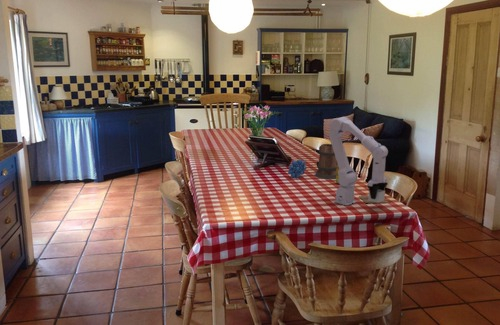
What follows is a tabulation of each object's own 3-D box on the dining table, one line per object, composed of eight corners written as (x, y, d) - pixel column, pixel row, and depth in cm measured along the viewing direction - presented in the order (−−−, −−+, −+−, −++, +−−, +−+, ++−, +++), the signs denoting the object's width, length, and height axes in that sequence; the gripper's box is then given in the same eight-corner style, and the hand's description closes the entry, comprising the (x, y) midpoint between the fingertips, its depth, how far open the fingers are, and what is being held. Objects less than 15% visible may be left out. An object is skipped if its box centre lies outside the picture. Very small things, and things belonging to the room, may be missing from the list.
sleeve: (378, 202, 221) (379, 192, 220) (368, 200, 225) (369, 190, 224) (384, 200, 225) (385, 190, 224) (374, 197, 229) (375, 188, 228)
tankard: (346, 178, 283) (347, 146, 278) (321, 180, 278) (322, 148, 274) (329, 169, 305) (330, 140, 300) (306, 171, 300) (307, 141, 296)
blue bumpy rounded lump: (304, 175, 288) (305, 157, 285) (307, 178, 281) (307, 159, 279) (286, 176, 286) (286, 157, 284) (288, 179, 280) (289, 160, 277)
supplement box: (335, 183, 272) (336, 165, 269) (344, 182, 274) (345, 164, 272) (340, 185, 266) (341, 167, 264) (349, 184, 269) (350, 166, 266)
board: (388, 203, 234) (389, 196, 233) (365, 204, 233) (366, 196, 232) (380, 196, 245) (381, 189, 244) (358, 197, 244) (359, 189, 244)
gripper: (377, 174, 214) (375, 202, 217) (393, 169, 224) (391, 196, 227) (364, 172, 219) (363, 199, 222) (380, 167, 229) (378, 193, 232)
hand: (376, 197), depth 225 cm, fingers closed on sleeve, 6 cm apart
